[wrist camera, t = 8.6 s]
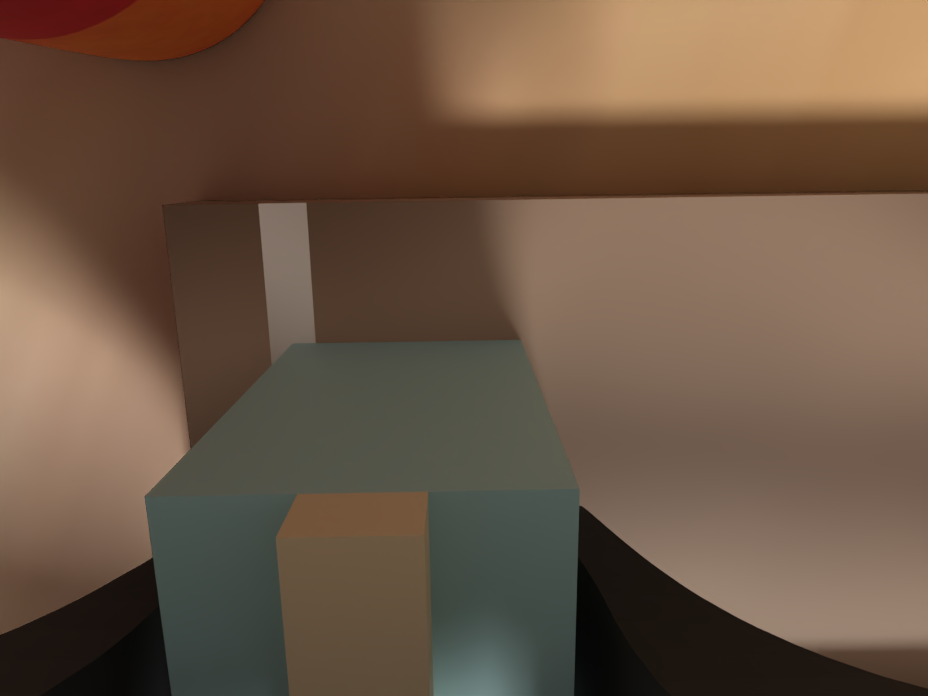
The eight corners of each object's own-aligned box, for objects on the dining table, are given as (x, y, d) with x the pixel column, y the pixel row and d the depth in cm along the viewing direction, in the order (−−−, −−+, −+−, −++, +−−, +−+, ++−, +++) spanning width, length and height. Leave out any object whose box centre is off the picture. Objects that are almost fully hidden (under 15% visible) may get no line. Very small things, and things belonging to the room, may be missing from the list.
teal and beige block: (518, 680, 14) (574, 1134, 7) (318, 685, 14) (195, 1143, 7) (520, 340, 12) (596, 531, 6) (292, 344, 12) (101, 539, 6)
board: (1259, 680, 16) (1418, 780, 13) (247, 698, 16) (205, 803, 13) (1411, 183, 13) (1646, 186, 11) (195, 202, 13) (129, 208, 10)
